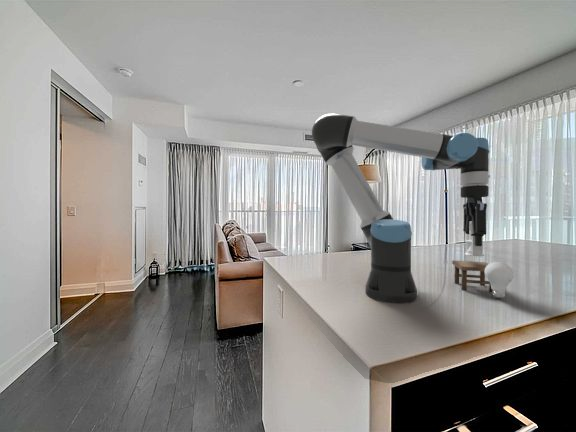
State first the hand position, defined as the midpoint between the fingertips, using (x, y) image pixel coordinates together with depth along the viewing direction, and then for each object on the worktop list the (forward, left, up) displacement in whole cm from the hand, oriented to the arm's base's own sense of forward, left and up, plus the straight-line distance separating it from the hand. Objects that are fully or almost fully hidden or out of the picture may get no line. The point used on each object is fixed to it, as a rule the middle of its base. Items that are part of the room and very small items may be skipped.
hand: (473, 254), depth 84 cm
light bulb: (+3, -10, -12) cm, 16 cm away
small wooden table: (0, 0, -11) cm, 11 cm away
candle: (0, 0, 0) cm, 1 cm away
